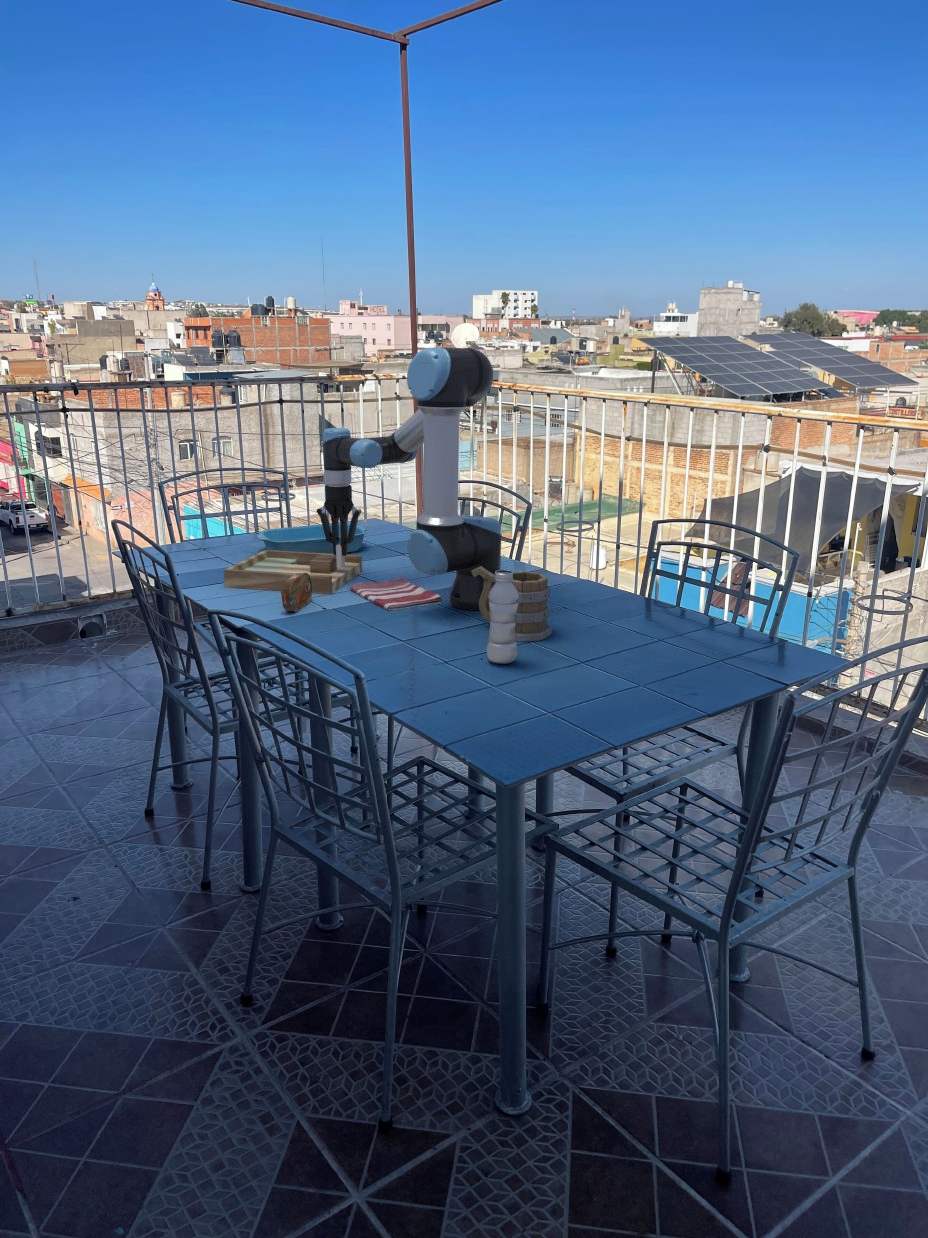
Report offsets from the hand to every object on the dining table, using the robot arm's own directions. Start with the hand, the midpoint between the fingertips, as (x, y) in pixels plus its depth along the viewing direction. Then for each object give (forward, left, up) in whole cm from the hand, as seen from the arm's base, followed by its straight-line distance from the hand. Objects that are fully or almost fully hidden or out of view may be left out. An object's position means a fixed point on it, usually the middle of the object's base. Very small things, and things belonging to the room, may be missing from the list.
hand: (340, 566), depth 245 cm
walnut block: (0, +5, -2) cm, 5 cm away
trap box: (0, +13, -5) cm, 14 cm away
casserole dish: (+37, +23, -5) cm, 44 cm away
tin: (-27, +2, -5) cm, 28 cm away
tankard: (-34, -55, -5) cm, 65 cm away
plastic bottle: (-56, -57, -5) cm, 80 cm away
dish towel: (-11, -20, -5) cm, 23 cm away
